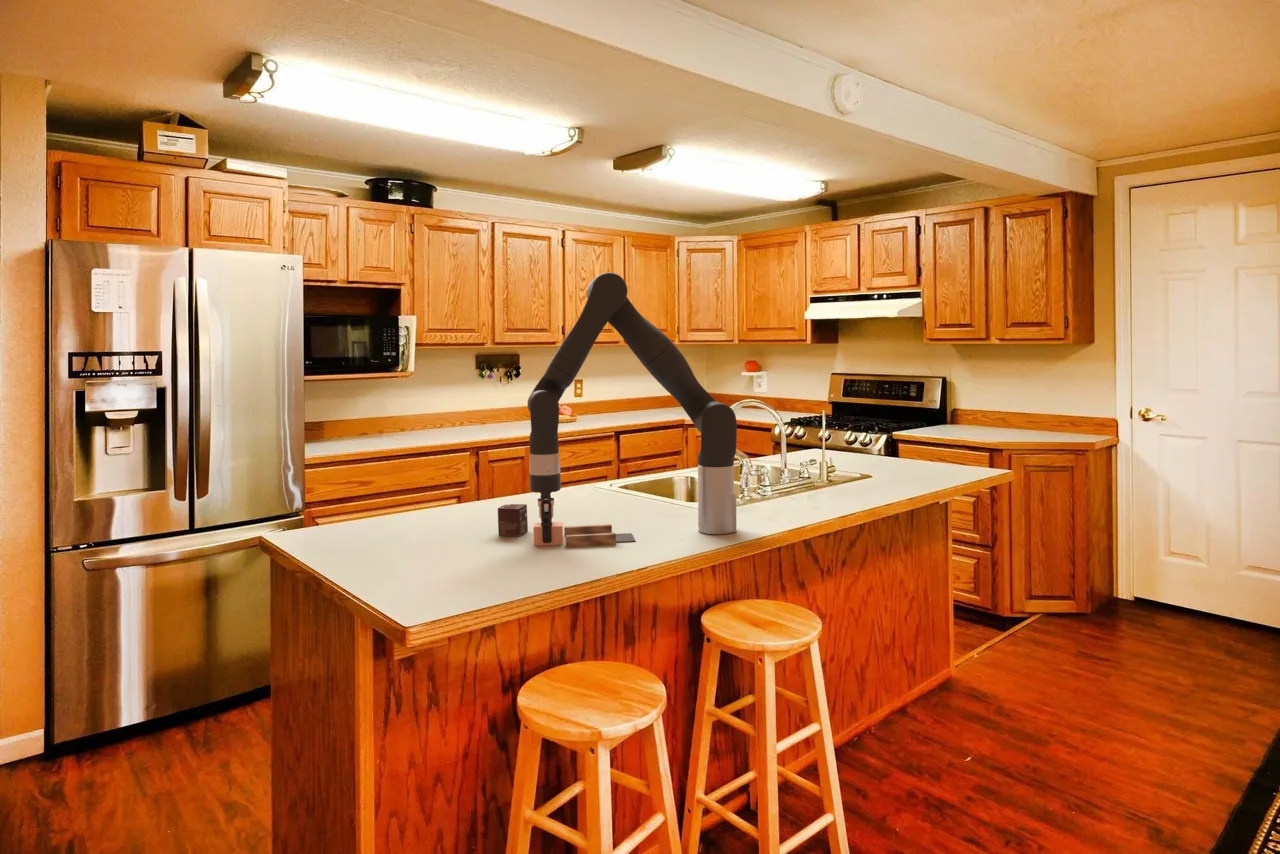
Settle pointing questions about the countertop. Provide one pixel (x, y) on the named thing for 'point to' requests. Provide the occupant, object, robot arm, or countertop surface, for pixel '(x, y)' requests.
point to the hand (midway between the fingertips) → (547, 539)
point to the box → (512, 520)
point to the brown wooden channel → (589, 535)
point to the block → (555, 530)
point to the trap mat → (624, 538)
